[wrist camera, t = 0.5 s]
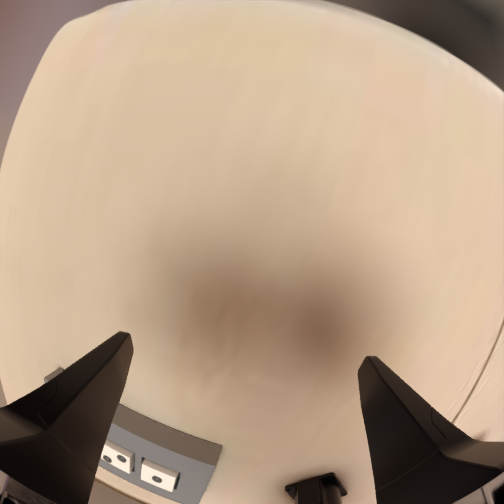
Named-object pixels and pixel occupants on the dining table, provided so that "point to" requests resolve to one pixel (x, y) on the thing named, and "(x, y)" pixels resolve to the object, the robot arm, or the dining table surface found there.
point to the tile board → (161, 453)
